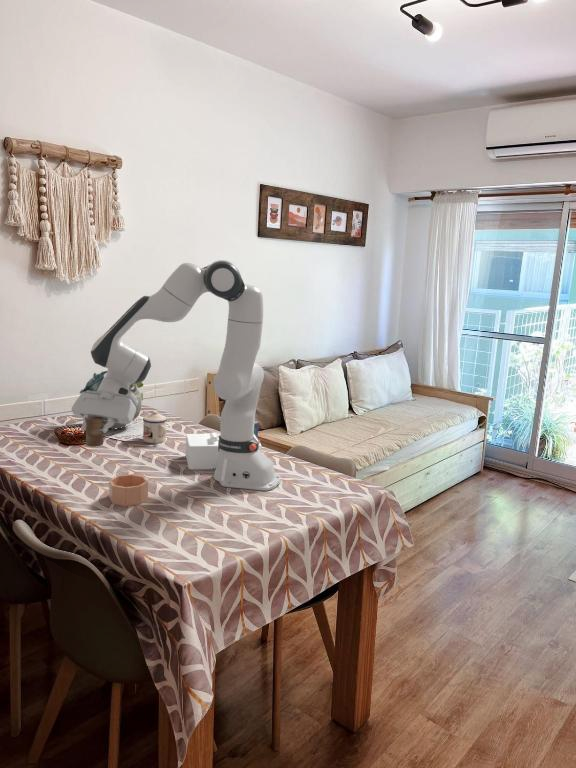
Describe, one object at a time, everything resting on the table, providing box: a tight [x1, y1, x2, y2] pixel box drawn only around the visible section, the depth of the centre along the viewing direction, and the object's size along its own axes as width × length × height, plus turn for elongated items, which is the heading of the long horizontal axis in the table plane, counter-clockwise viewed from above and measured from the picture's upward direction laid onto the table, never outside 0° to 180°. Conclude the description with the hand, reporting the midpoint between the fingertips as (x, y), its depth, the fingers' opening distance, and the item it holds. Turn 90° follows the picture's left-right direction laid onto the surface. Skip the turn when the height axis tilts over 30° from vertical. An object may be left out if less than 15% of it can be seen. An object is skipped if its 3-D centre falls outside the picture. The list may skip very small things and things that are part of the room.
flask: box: [254, 420, 259, 440], centre depth 232 cm, size 9×3×11 cm, turn 144°
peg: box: [85, 417, 104, 447], centre depth 181 cm, size 5×5×8 cm
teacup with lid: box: [142, 410, 167, 444], centre depth 229 cm, size 12×9×12 cm
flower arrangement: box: [79, 370, 144, 428], centre depth 242 cm, size 25×25×24 cm
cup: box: [108, 473, 149, 507], centre depth 174 cm, size 10×10×6 cm
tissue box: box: [185, 432, 262, 470], centre depth 211 cm, size 14×25×11 cm, turn 104°
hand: (93, 430), depth 180 cm, fingers closed on peg, 5 cm apart
